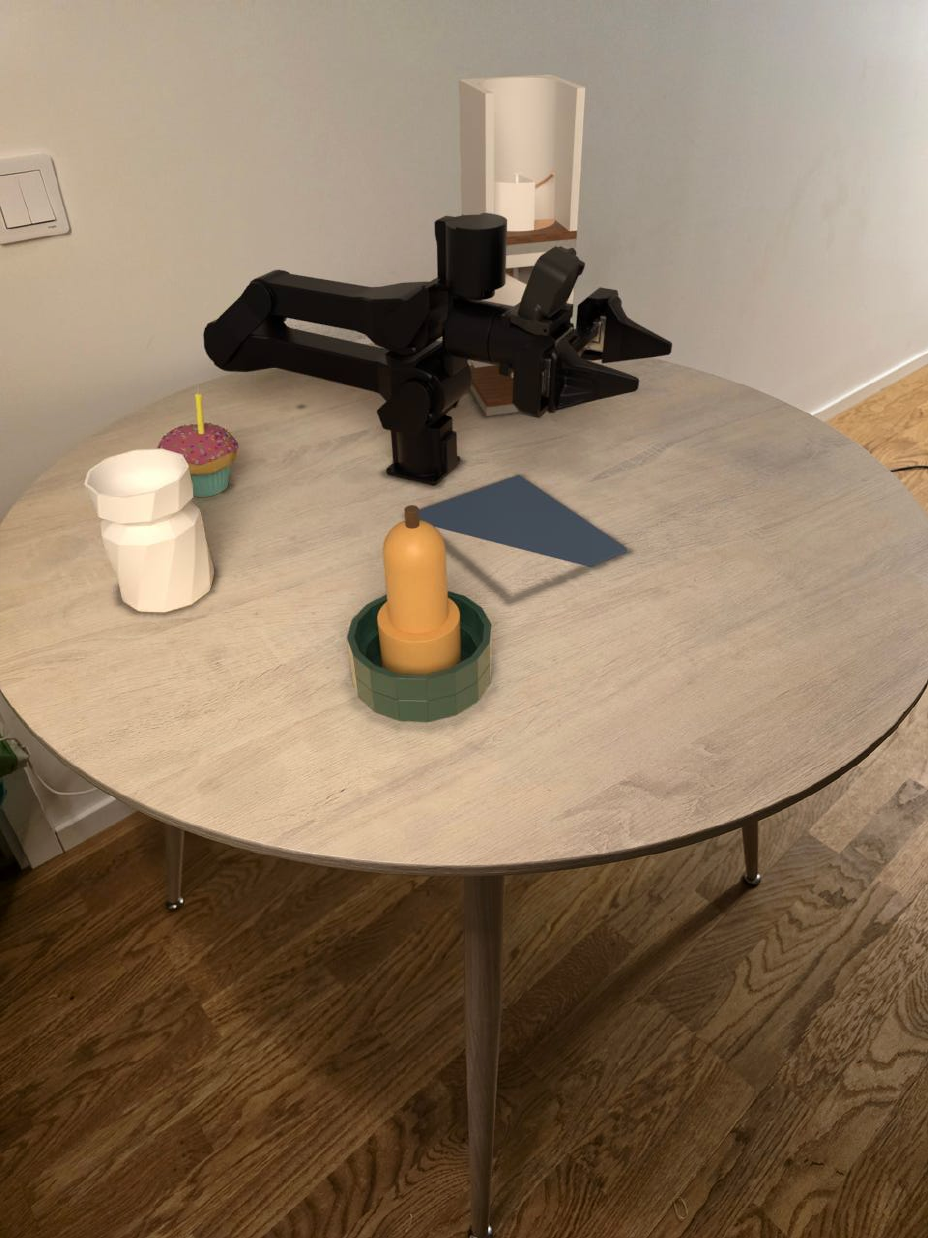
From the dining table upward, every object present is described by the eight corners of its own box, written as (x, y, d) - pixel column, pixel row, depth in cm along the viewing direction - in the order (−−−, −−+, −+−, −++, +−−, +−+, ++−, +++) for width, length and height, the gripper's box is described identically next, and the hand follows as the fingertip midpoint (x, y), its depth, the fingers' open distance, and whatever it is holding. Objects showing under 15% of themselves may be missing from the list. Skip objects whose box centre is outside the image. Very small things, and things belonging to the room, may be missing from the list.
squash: (368, 685, 69) (348, 520, 60) (407, 639, 74) (395, 478, 64) (438, 709, 67) (429, 541, 57) (474, 660, 72) (472, 497, 62)
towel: (410, 515, 90) (410, 512, 90) (518, 477, 96) (518, 474, 96) (510, 601, 79) (510, 598, 78) (627, 552, 84) (627, 548, 84)
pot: (327, 699, 69) (319, 652, 66) (398, 620, 77) (394, 575, 74) (451, 744, 65) (449, 696, 62) (513, 656, 73) (514, 609, 70)
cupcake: (258, 474, 98) (239, 373, 90) (218, 512, 92) (194, 406, 84) (193, 464, 100) (169, 364, 93) (150, 500, 94) (120, 396, 87)
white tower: (465, 380, 117) (459, 79, 96) (539, 371, 119) (550, 74, 97) (486, 415, 109) (485, 93, 87) (566, 405, 111) (585, 87, 89)
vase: (130, 624, 77) (91, 508, 70) (113, 574, 83) (75, 462, 76) (226, 595, 80) (199, 481, 73) (203, 549, 86) (176, 440, 79)
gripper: (454, 277, 73) (630, 308, 67) (546, 224, 85) (700, 246, 80) (455, 401, 80) (614, 439, 74) (539, 334, 92) (681, 362, 87)
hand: (655, 365), depth 78 cm, fingers open, 9 cm apart
